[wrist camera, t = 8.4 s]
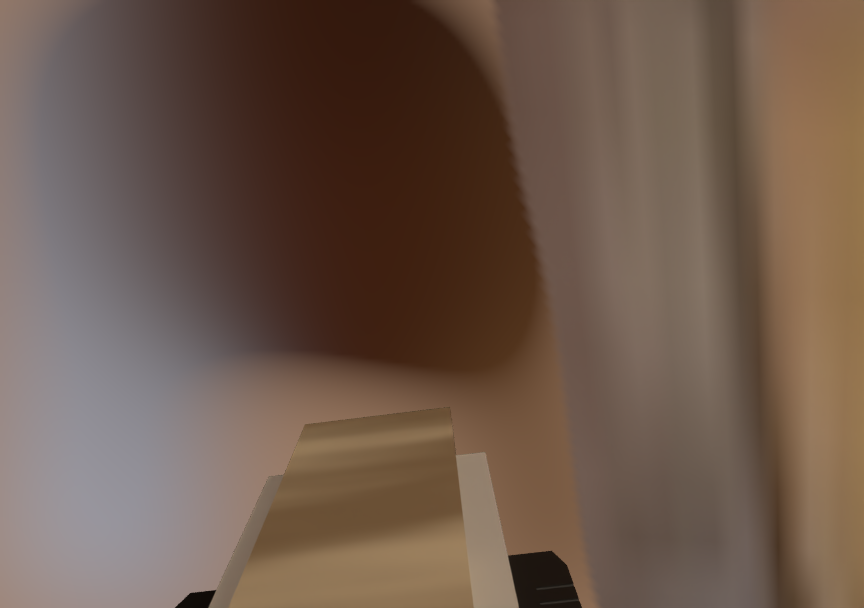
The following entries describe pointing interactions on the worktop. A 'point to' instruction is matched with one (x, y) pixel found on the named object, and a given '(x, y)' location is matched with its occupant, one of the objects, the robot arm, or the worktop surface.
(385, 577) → the tan wood-grain block
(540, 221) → the worktop surface
